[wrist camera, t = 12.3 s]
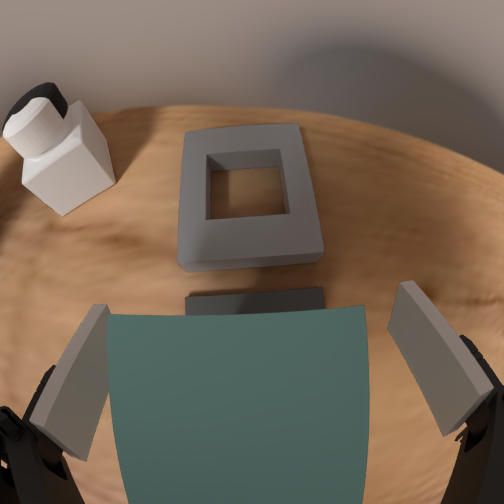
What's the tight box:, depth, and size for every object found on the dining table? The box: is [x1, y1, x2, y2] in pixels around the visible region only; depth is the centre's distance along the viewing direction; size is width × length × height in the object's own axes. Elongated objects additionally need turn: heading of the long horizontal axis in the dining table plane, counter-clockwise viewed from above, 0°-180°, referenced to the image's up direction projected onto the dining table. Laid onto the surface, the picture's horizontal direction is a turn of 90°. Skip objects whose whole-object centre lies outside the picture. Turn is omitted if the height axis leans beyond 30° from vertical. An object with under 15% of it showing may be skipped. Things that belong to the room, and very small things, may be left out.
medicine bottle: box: [2, 82, 116, 216], centre depth 18 cm, size 7×7×12 cm
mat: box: [185, 287, 325, 316], centre depth 18 cm, size 10×10×1 cm
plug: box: [107, 305, 369, 504], centre depth 11 cm, size 4×4×15 cm
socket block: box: [177, 123, 325, 272], centre depth 21 cm, size 10×12×2 cm
